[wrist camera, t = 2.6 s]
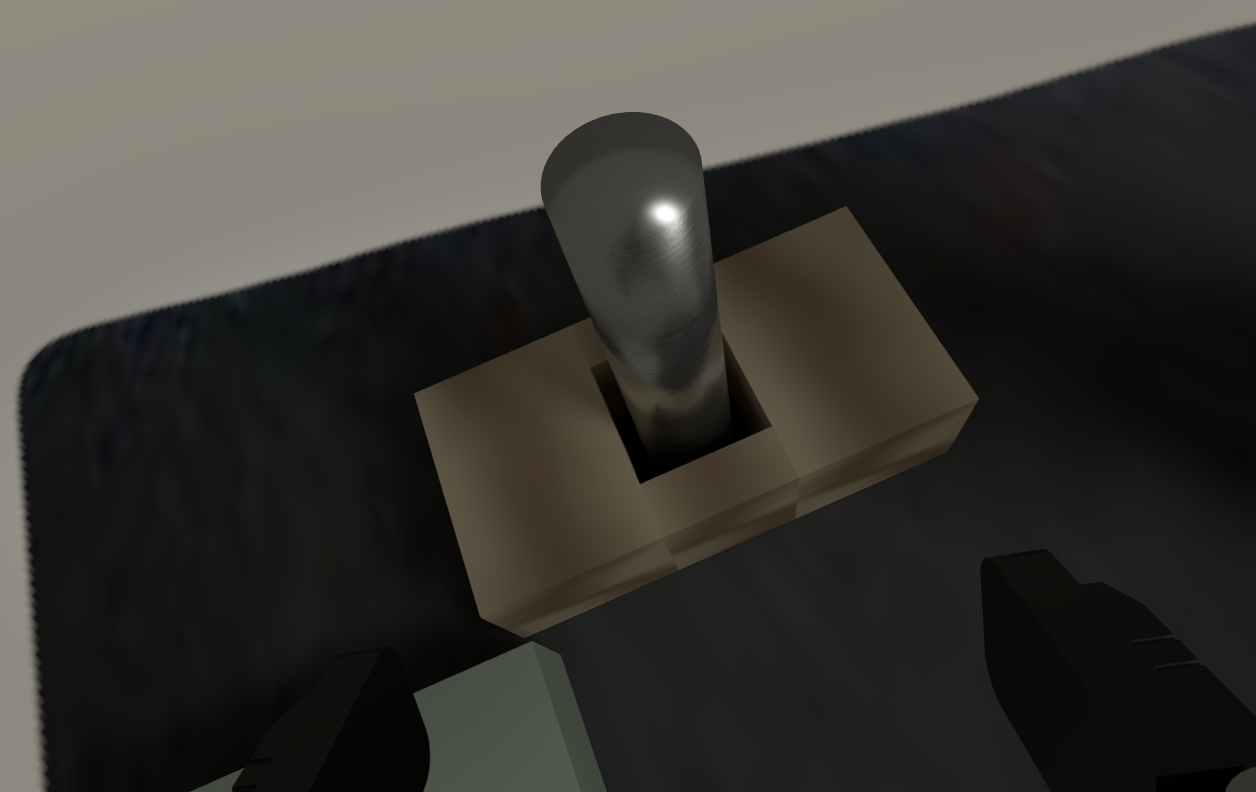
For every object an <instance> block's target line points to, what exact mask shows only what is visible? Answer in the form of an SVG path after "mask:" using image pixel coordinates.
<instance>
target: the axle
mask: <svg viewBox="0 0 1256 792" xmlns="http://www.w3.org/2000/svg"><path fill="white" fill-rule="evenodd" d="M541 195H542V200H543V203H544V206H545V208H546V211H547V213H548V216H549V218H550V221H551V223H552V225H553V228H554V230H555V233H556V235H557V238H558V240H559V242H560V245H561V247H562V250H563V252H564V255H565V257H566V259H567V262H568V264H569V267H570V269H571V271H572V274H573V276H574V279H575V281H576V284H577V286H578V288H579V291H580V293H581V296H582V298H583V301H584V303H585V305H586V308H587V310H588V313H589V315H590V318H591V320H592V322H593V325H594V327H595V330H596V332H597V334H598V337H599V339H600V342H601V344H602V347H603V349H604V351H605V354H606V356H607V359H608V361H609V364H610V366H611V368H612V371H613V373H614V376H615V378H616V381H617V383H618V385H619V388H620V390H621V393H622V395H623V397H624V400H625V402H626V405H627V407H628V410H629V412H630V414H631V417H632V419H633V422H634V424H635V427H636V429H637V431H638V434H639V436H640V439H641V441H642V444H643V446H644V448H645V451H646V453H647V456H648V458H649V460H650V463H651V465H652V467H653V469H654V470H655V472H656V473H657V474H658V475H659V476H660V475H662V474H665V473H667V472H669V471H671V470H674V469H676V468H678V467H681V466H683V465H685V464H687V463H690V462H692V461H694V460H697V459H699V458H701V457H703V456H706V455H708V454H710V453H713V452H715V451H717V450H719V449H722V448H724V447H726V446H729V445H731V444H733V443H734V436H733V428H732V419H731V410H730V402H729V393H728V385H727V376H726V367H725V359H724V350H723V341H722V333H721V324H720V316H719V307H718V298H717V290H716V281H715V272H714V264H713V255H712V247H711V238H710V229H709V221H708V212H707V203H706V195H705V186H704V177H703V169H702V160H701V156H700V153H699V149H698V147H697V145H696V143H695V142H694V140H693V139H692V137H691V136H690V135H689V134H688V133H687V132H686V131H685V130H684V129H683V128H682V127H680V126H679V125H678V124H676V123H674V122H672V121H670V120H669V119H666V118H664V117H661V116H658V115H654V114H648V113H641V112H625V113H617V114H611V115H607V116H603V117H600V118H598V119H595V120H592V121H590V122H588V123H586V124H584V125H582V126H580V127H579V128H577V129H576V130H574V131H573V132H572V133H571V134H569V135H568V136H566V137H565V138H564V139H563V140H562V141H561V142H560V143H559V144H558V145H557V147H556V148H555V149H554V150H553V152H552V154H551V155H550V157H549V158H548V160H547V162H546V165H545V167H544V170H543V174H542V178H541Z"/></svg>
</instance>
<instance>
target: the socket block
mask: <svg viewBox="0 0 1256 792" xmlns="http://www.w3.org/2000/svg"><path fill="white" fill-rule="evenodd" d="M413 694H414V697H415V700H416V702H417V705H418V708H419V711H420V713H421V716H422V719H423V722H424V724H425V727H426V730H427V733H428V738H429V744H430V769H429V775H428V779H427V783H426V786H425V789H424V792H607V791H606V788H605V785H604V782H603V779H602V776H601V773H600V770H599V767H598V764H597V761H596V758H595V755H594V752H593V749H592V747H591V744H590V741H589V738H588V735H587V732H586V729H585V726H584V723H583V720H582V717H581V714H580V711H579V708H578V705H577V702H576V699H575V696H574V693H573V690H572V687H571V684H570V681H569V678H568V675H567V672H566V669H565V667H564V664H563V661H562V658H561V655H560V654H558V653H556V652H554V651H552V650H550V649H548V648H545V647H543V646H541V645H539V644H537V643H535V642H533V641H531V642H529V643H527V644H525V645H522V646H520V647H518V648H515V649H513V650H511V651H509V652H506V653H504V654H502V655H500V656H497V657H495V658H493V659H490V660H488V661H486V662H484V663H481V664H479V665H477V666H475V667H472V668H470V669H468V670H465V671H463V672H461V673H459V674H456V675H454V676H452V677H450V678H447V679H445V680H443V681H441V682H438V683H436V684H434V685H431V686H429V687H427V688H425V689H422V690H420V691H418V692H416V693H413ZM243 769H244V768H243ZM243 769H241V770H238V771H236V772H234V773H232V774H229V775H227V776H225V777H223V778H220V779H218V780H216V781H213V782H211V783H209V784H207V785H204V786H202V787H200V788H198V789H195V790H193V791H191V792H232V786H233V785H234V783H235V782H236V780H237V778H238V777H239V775H240V774H241V772H242V771H243Z"/></svg>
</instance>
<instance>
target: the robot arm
mask: <svg viewBox="0 0 1256 792" xmlns="http://www.w3.org/2000/svg"><path fill="white" fill-rule="evenodd" d="M981 591H982V608H983V625H984V642H985V656H986V663H987V668H988V672H989V676H990V680H991V683H992V686H993V689H994V692H995V694H996V697H997V699H998V701H999V703H1000V705H1001V707H1002V709H1003V710H1004V712H1005V714H1006V716H1007V717H1008V719H1009V721H1010V722H1011V724H1012V726H1013V727H1014V729H1015V731H1016V733H1017V734H1018V736H1019V738H1020V739H1021V741H1022V743H1023V745H1024V746H1025V748H1026V750H1027V751H1028V753H1029V755H1030V757H1031V758H1032V760H1033V762H1034V763H1035V765H1036V767H1037V768H1038V770H1039V772H1040V774H1041V775H1042V777H1043V779H1044V780H1045V782H1046V784H1047V786H1048V787H1049V789H1050V791H1051V792H1256V716H1255V715H1254V714H1253V713H1252V712H1251V711H1250V710H1249V709H1248V708H1247V707H1246V706H1245V705H1244V704H1243V703H1242V702H1241V701H1240V700H1239V699H1238V698H1237V697H1236V696H1235V695H1234V694H1233V693H1232V692H1231V691H1230V690H1229V689H1228V688H1227V687H1226V686H1225V685H1224V684H1223V683H1222V682H1221V681H1220V680H1219V679H1218V678H1217V677H1216V676H1215V675H1214V674H1213V673H1212V672H1211V671H1210V670H1209V669H1208V668H1207V667H1206V666H1205V665H1201V666H1200V664H1199V662H1198V658H1197V657H1196V656H1195V655H1194V654H1193V653H1192V652H1191V651H1190V650H1189V649H1188V648H1187V647H1186V646H1185V645H1184V644H1183V643H1182V642H1181V641H1180V640H1179V639H1178V640H1175V639H1174V637H1173V633H1172V632H1171V631H1170V630H1169V629H1168V628H1167V627H1166V626H1165V625H1164V624H1163V623H1162V622H1161V621H1160V620H1159V619H1158V618H1157V617H1156V616H1155V615H1154V614H1153V613H1152V612H1151V611H1150V610H1149V609H1148V608H1147V607H1146V606H1145V605H1144V604H1142V603H1140V602H1138V601H1137V600H1135V599H1133V598H1131V597H1129V596H1127V595H1125V594H1123V593H1121V592H1119V591H1118V590H1116V589H1114V588H1112V587H1110V586H1108V585H1106V584H1104V583H1102V582H1096V583H1089V584H1083V585H1080V584H1079V583H1078V582H1077V581H1076V580H1075V579H1074V578H1073V577H1072V575H1071V574H1070V573H1069V572H1068V571H1067V570H1066V569H1065V568H1064V567H1063V565H1062V564H1061V563H1060V562H1059V561H1058V560H1057V559H1056V558H1055V557H1054V556H1053V555H1052V554H1051V553H1050V552H1049V551H1048V550H1045V549H1040V550H1034V551H1027V552H1021V553H1014V554H1008V555H1001V556H994V557H988V558H984V559H983V561H982V563H981ZM429 769H430V744H429V738H428V733H427V730H426V727H425V724H424V722H423V719H422V716H421V713H420V711H419V708H418V705H417V702H416V700H415V697H414V694H413V691H412V689H411V686H410V683H409V680H408V678H407V675H406V672H405V669H404V666H403V664H402V661H401V659H400V656H399V655H398V653H397V652H396V651H395V650H394V649H393V648H391V647H386V648H379V649H372V650H366V651H359V652H353V653H346V654H340V655H337V656H335V657H334V658H333V659H332V660H331V662H330V663H329V665H328V667H327V668H326V670H325V672H324V673H323V675H322V677H321V678H320V680H319V682H318V684H317V685H316V687H315V689H314V690H313V692H312V694H311V695H310V696H309V697H302V698H300V699H299V700H298V701H297V702H296V703H295V704H294V705H293V706H292V707H291V708H290V709H289V710H288V711H286V712H285V713H284V714H283V715H282V716H281V717H280V718H279V719H278V720H277V721H276V722H275V723H274V724H273V725H272V726H271V727H270V728H269V729H268V731H267V732H266V734H265V735H264V737H263V739H262V740H261V742H260V743H259V745H258V747H257V748H256V750H255V751H254V753H253V755H252V756H251V758H250V759H249V766H248V767H244V769H243V771H242V772H241V774H240V775H239V777H238V778H237V780H236V782H235V783H234V785H233V786H232V792H424V789H425V786H426V783H427V779H428V775H429Z"/></svg>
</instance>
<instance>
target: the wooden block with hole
mask: <svg viewBox="0 0 1256 792" xmlns="http://www.w3.org/2000/svg"><path fill="white" fill-rule="evenodd" d="M714 272H715V281H716V290H717V298H718V307H719V316H720V324H721V333H722V341H723V350H724V359H725V367H726V376H727V385H728V390H729V392H730V394H731V396H732V398H733V400H734V402H735V404H736V406H737V407H738V409H739V411H740V413H741V415H742V417H743V419H744V421H745V423H746V425H747V427H748V429H749V431H750V433H751V436H749V437H747V438H745V439H742V440H740V441H738V442H735V443H733V444H731V445H729V446H726V447H724V448H722V449H719V450H717V451H715V452H713V453H710V454H708V455H706V456H703V457H701V458H699V459H697V460H694V461H692V462H690V463H687V464H685V465H683V466H681V467H678V468H676V469H674V470H671V471H669V472H667V473H665V474H662V475H660V476H658V477H655V478H653V479H651V480H649V481H646V482H644V483H641V481H640V479H639V476H638V474H637V472H636V469H635V467H634V465H633V462H632V460H631V458H630V455H629V453H628V451H627V448H626V446H625V444H624V441H623V439H622V437H621V434H620V432H619V430H618V427H617V425H616V423H615V420H617V419H619V418H621V417H624V416H626V415H628V414H630V412H629V410H628V407H627V405H626V402H625V400H624V397H623V395H622V393H621V390H620V388H619V385H618V383H617V381H616V378H615V376H614V373H613V371H612V368H611V366H610V364H609V361H608V359H607V356H606V354H605V351H604V349H603V347H602V344H601V342H600V339H599V337H598V334H597V332H596V330H595V327H594V325H593V322H592V320H591V318H587V319H585V320H583V321H580V322H578V323H576V324H573V325H571V326H569V327H567V328H564V329H562V330H560V331H557V332H555V333H553V334H550V335H548V336H546V337H544V338H541V339H539V340H537V341H534V342H532V343H530V344H527V345H525V346H523V347H520V348H518V349H516V350H514V351H511V352H509V353H507V354H504V355H502V356H500V357H497V358H495V359H493V360H490V361H488V362H486V363H484V364H481V365H479V366H477V367H474V368H472V369H470V370H467V371H465V372H463V373H460V374H458V375H456V376H454V377H451V378H449V379H447V380H444V381H442V382H440V383H437V384H435V385H433V386H431V387H428V388H426V389H424V390H421V391H419V392H417V393H414V395H415V399H416V402H417V405H418V409H419V412H420V415H421V419H422V422H423V426H424V429H425V432H426V436H427V439H428V442H429V446H430V449H431V453H432V456H433V459H434V463H435V466H436V469H437V473H438V476H439V479H440V483H441V486H442V490H443V493H444V496H445V500H446V503H447V506H448V510H449V513H450V517H451V520H452V523H453V527H454V530H455V533H456V537H457V540H458V544H459V547H460V550H461V554H462V557H463V560H464V564H465V567H466V570H467V574H468V577H469V581H470V584H471V587H472V591H473V594H474V597H475V601H476V604H477V608H478V611H479V614H480V618H482V619H484V620H486V621H489V622H491V623H493V624H495V625H497V626H499V627H501V628H503V629H506V630H508V631H510V632H512V633H514V634H516V635H518V636H521V637H523V638H526V637H528V636H530V635H533V634H535V633H537V632H539V631H542V630H544V629H546V628H549V627H551V626H553V625H555V624H558V623H560V622H562V621H564V620H567V619H569V618H571V617H574V616H576V615H578V614H580V613H583V612H585V611H587V610H589V609H592V608H594V607H596V606H599V605H601V604H603V603H605V602H608V601H610V600H612V599H614V598H617V597H619V596H621V595H624V594H626V593H628V592H630V591H633V590H635V589H637V588H639V587H642V586H644V585H646V584H648V583H651V582H653V581H655V580H658V579H660V578H662V577H664V576H667V575H669V574H671V573H673V572H676V571H678V570H680V569H683V568H685V567H687V566H689V565H692V564H694V563H696V562H698V561H701V560H703V559H705V558H708V557H710V556H712V555H714V554H717V553H719V552H721V551H723V550H726V549H728V548H730V547H733V546H735V545H737V544H739V543H742V542H744V541H746V540H748V539H751V538H753V537H755V536H758V535H760V534H762V533H764V532H767V531H769V530H771V529H773V528H776V527H778V526H780V525H782V524H785V523H787V522H789V521H792V520H794V519H796V518H798V517H801V516H803V515H805V514H807V513H810V512H812V511H814V510H817V509H819V508H821V507H823V506H826V505H828V504H830V503H832V502H835V501H837V500H839V499H842V498H844V497H846V496H848V495H851V494H853V493H855V492H857V491H860V490H862V489H864V488H867V487H869V486H871V485H873V484H876V483H878V482H880V481H882V480H885V479H887V478H889V477H891V476H894V475H896V474H898V473H901V472H903V471H905V470H907V469H910V468H912V467H914V466H916V465H919V464H921V463H923V462H926V461H928V460H930V459H932V458H935V457H937V456H939V455H941V454H944V453H946V452H948V450H949V449H950V447H951V445H952V444H953V442H954V440H955V439H956V437H957V435H958V434H959V432H960V430H961V428H962V427H963V425H964V423H965V422H966V420H967V418H968V417H969V415H970V413H971V412H972V410H973V408H974V406H975V405H976V403H977V401H978V400H979V398H978V396H977V395H976V394H975V392H974V391H973V389H972V388H971V386H970V385H969V383H968V382H967V380H966V379H965V378H964V376H963V375H962V373H961V372H960V370H959V369H958V367H957V366H956V364H955V363H954V362H953V360H952V359H951V357H950V356H949V354H948V353H947V351H946V350H945V349H944V347H943V346H942V344H941V343H940V341H939V340H938V338H937V337H936V335H935V334H934V333H933V331H932V330H931V328H930V327H929V325H928V324H927V322H926V321H925V319H924V318H923V317H922V315H921V314H920V312H919V311H918V309H917V308H916V306H915V305H914V304H913V302H912V301H911V299H910V298H909V296H908V295H907V293H906V292H905V290H904V289H903V288H902V286H901V285H900V283H899V282H898V280H897V279H896V277H895V276H894V274H893V273H892V272H891V270H890V269H889V267H888V266H887V264H886V263H885V261H884V260H883V259H882V257H881V256H880V254H879V253H878V251H877V250H876V248H875V247H874V245H873V244H872V243H871V241H870V240H869V238H868V237H867V235H866V234H865V232H864V231H863V229H862V228H861V227H860V225H859V224H858V222H857V221H856V219H855V218H854V216H853V215H852V213H851V212H850V211H849V209H848V208H847V206H846V207H843V208H841V209H839V210H836V211H834V212H832V213H829V214H827V215H825V216H822V217H820V218H818V219H816V220H813V221H811V222H809V223H806V224H804V225H802V226H799V227H797V228H795V229H793V230H790V231H788V232H786V233H783V234H781V235H779V236H776V237H774V238H772V239H769V240H767V241H765V242H763V243H760V244H758V245H756V246H753V247H751V248H749V249H746V250H744V251H742V252H739V253H737V254H735V255H733V256H730V257H728V258H726V259H723V260H721V261H719V262H716V263H714Z"/></svg>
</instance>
